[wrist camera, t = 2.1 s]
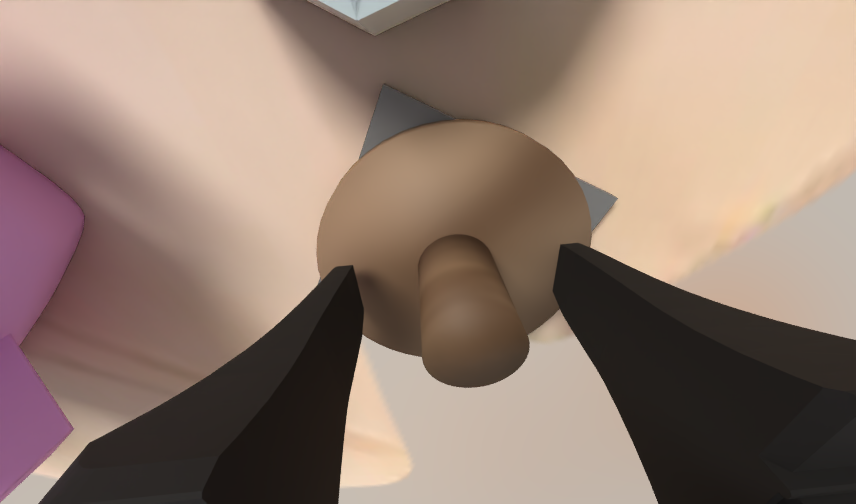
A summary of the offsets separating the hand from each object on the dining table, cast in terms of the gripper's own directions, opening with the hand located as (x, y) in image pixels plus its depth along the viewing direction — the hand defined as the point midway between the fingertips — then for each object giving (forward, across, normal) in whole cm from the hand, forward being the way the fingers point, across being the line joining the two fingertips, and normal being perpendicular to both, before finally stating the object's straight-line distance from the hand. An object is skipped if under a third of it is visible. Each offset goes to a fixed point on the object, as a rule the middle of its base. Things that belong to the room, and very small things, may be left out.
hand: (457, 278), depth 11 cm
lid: (+2, 0, 0) cm, 2 cm away
